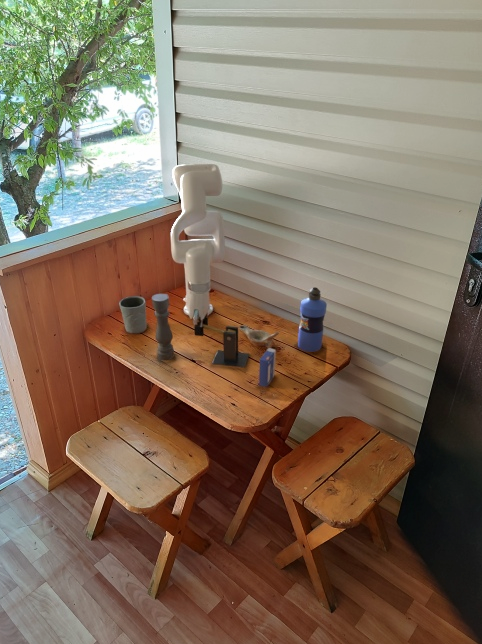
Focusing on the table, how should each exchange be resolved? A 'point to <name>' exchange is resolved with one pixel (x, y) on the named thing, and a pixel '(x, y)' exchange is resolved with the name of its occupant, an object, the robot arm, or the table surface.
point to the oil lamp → (258, 336)
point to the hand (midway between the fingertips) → (201, 330)
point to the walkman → (267, 367)
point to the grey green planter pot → (134, 314)
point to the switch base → (231, 350)
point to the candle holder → (163, 327)
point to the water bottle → (311, 321)
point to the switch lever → (216, 329)
